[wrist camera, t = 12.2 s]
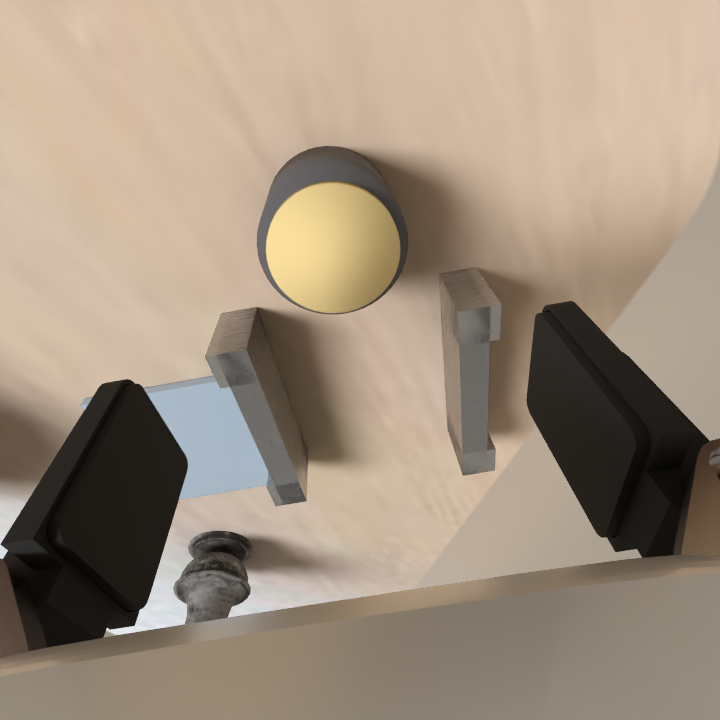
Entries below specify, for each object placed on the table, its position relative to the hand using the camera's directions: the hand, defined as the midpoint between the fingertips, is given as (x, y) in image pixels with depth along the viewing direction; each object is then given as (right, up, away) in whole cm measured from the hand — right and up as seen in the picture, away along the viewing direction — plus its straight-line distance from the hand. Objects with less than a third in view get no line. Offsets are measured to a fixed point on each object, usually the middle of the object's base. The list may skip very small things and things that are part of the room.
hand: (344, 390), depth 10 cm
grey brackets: (+1, 0, +16) cm, 16 cm away
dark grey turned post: (-12, -15, +27) cm, 33 cm away
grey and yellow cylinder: (-1, +8, +10) cm, 13 cm away
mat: (-11, -5, +19) cm, 22 cm away
